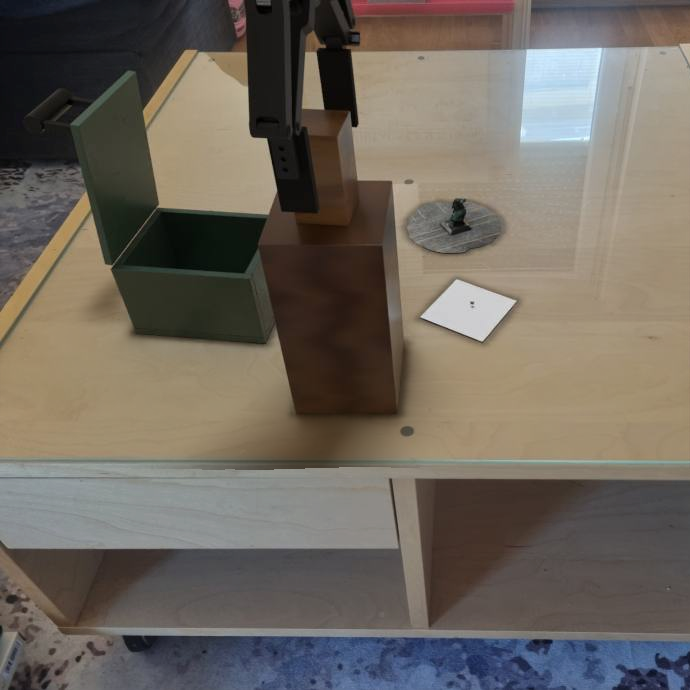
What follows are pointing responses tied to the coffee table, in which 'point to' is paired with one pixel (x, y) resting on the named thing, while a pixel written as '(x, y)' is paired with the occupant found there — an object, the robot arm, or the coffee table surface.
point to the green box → (197, 276)
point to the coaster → (469, 310)
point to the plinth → (338, 305)
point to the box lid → (108, 158)
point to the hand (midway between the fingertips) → (323, 164)
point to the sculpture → (453, 226)
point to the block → (331, 166)
